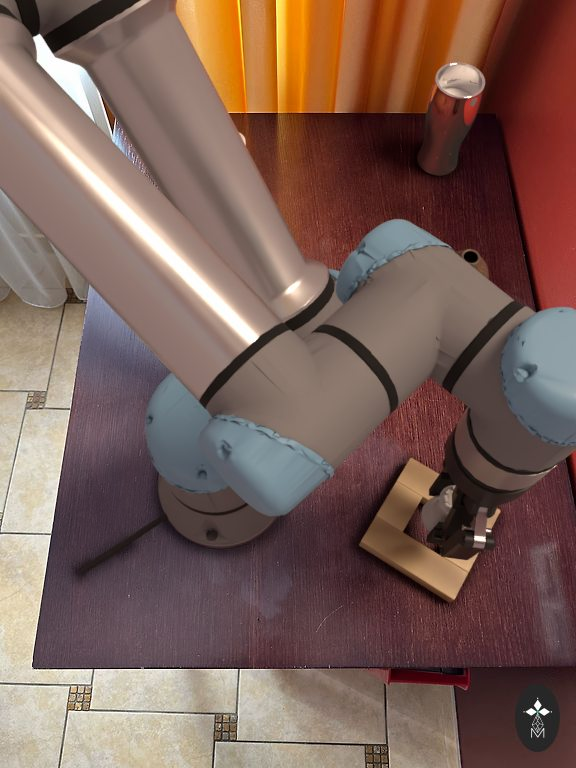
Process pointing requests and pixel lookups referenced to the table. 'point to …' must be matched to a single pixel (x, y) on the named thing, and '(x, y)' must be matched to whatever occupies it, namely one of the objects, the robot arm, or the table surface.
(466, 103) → the chrome pint tumbler
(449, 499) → the rook chess piece
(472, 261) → the vase
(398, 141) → the table surface
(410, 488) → the square wooden frame
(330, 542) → the table surface
